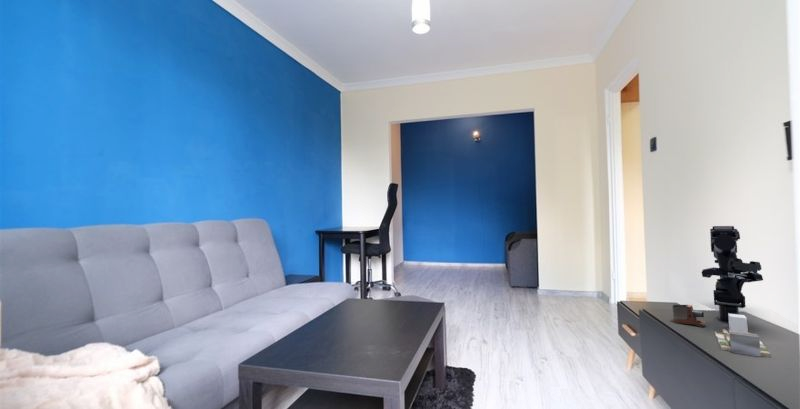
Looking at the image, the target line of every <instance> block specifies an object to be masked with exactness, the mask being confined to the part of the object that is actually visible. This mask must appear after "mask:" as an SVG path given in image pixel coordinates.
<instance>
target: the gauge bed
mask: <svg viewBox="0 0 800 409" xmlns="http://www.w3.org/2000/svg"><path fill="white" fill-rule="evenodd" d="M721 331H722V333H728V334H721V333H716V332H717V331H714V336H715V338H716V340H717V342H718V345H719V347H720V349H721V350H722V349H723V350H722V351H727V350H728V352H731V353H734V354H741V355H747V356H754V357H758V358H760V357H767V358H772V357H771V356H772V354H771V353H770V351H769V350H768V349H767V347H766V346H765V345H764V344H763V341H761V339H760V336H759V334H757V333H751V332H749V331H748V333H743V332H735V331H729V330H727V329H724V328H722V329H721Z"/></svg>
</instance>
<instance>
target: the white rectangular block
mask: <svg viewBox="0 0 800 409" xmlns="http://www.w3.org/2000/svg"><path fill="white" fill-rule="evenodd" d="M728 318H729V322H728V333H729V331H735V332H743V333H748V332H749V331H748V330H749V329H748V318H747V317H746V315H744V314H739V315H738V314H729V313H728ZM715 332H716V333H721V334H728V333H722V332H720V331H715Z"/></svg>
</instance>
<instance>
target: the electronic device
mask: <svg viewBox="0 0 800 409" xmlns="http://www.w3.org/2000/svg"><path fill="white" fill-rule="evenodd" d="M704 316H705V315H704V311H698V310H694V307H693V305H692V304H673V305H672V317H673V318H672V320H673V323H674V324H681V325H687V326H688V325H689V326H695V325H696V326H695V327H700V328H703V327H704V326H705V325H706V323H707V322H706V321H703V320H699V319H697V318H704Z"/></svg>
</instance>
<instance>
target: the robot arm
mask: <svg viewBox="0 0 800 409" xmlns="http://www.w3.org/2000/svg"><path fill="white" fill-rule="evenodd" d="M711 227H712V228H710V229H709V230H710V232H709V234H710V249H711V250H710V251H711V253H713V258H715V260H714V263H715V264H717V266H718V267H709V268H704V269H702V270H701V276H702V278H707V279H708V278H710V279H711V277H712V276H717V277H719V278H718V279H716V282H715V289H713V291H712V292H713V302H714V304H713V305H714V306H718V311H719V315H716V316H715V318H716V319H718V320H719V321H720V322H721V323H729V318H728V313H729V314H738V315H740V310H739V309H744V308H746V296H745V295H744V294H743V292H742V289H743V286H744V284H745V283H754V282H762V281H764V277H763V275H762V274H761V273H758V271H761V270H762V265H761V263H760V261H753V260H750V261H749V262H743V260H742V258H738V255H737V253H738V243H737V242H738V241H739V240H741V234H740V231H739V230H738V229H737V228H735V226H734V225H713V226H711Z"/></svg>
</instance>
